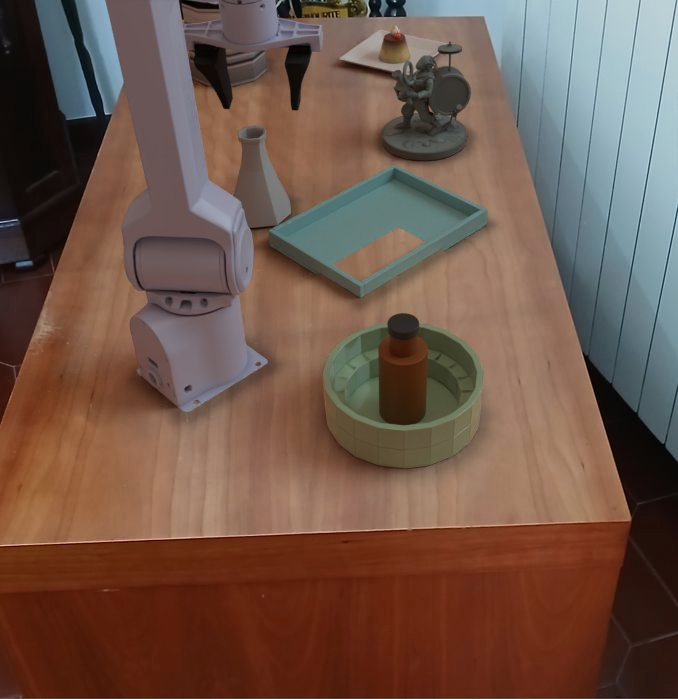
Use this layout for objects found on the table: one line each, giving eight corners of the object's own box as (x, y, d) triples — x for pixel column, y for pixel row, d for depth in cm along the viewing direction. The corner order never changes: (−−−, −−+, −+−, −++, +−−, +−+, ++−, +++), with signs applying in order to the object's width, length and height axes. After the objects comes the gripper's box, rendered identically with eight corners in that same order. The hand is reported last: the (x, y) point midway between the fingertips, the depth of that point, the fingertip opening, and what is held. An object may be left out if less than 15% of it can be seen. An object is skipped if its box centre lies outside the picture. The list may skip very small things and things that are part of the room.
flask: (283, 232, 101) (276, 151, 95) (220, 227, 103) (209, 146, 96) (299, 197, 107) (292, 118, 100) (239, 193, 108) (229, 114, 101)
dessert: (411, 82, 129) (411, 49, 125) (338, 66, 134) (336, 33, 130) (449, 50, 136) (451, 18, 133) (379, 36, 141) (379, 5, 138)
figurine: (375, 124, 120) (374, 34, 112) (456, 116, 120) (461, 26, 113) (389, 164, 112) (389, 70, 104) (476, 156, 112) (482, 61, 105)
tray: (360, 302, 92) (360, 286, 90) (269, 245, 100) (267, 230, 98) (486, 225, 101) (488, 209, 100) (394, 179, 109) (394, 164, 108)
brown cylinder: (403, 434, 77) (403, 346, 71) (369, 410, 79) (367, 322, 73) (435, 410, 79) (439, 322, 73) (402, 387, 81) (402, 300, 75)
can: (178, 65, 136) (165, -18, 128) (248, 47, 140) (240, -34, 132) (207, 94, 128) (195, 8, 120) (281, 75, 132) (274, -10, 124)
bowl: (404, 499, 72) (404, 456, 69) (294, 415, 80) (290, 372, 77) (511, 414, 79) (516, 371, 76) (400, 344, 86) (401, 302, 83)
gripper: (322, -32, 93) (331, 84, 104) (183, -32, 95) (205, 81, 105) (313, 6, 89) (323, 122, 99) (167, 5, 90) (192, 119, 101)
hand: (262, 104), depth 102 cm, fingers open, 7 cm apart
